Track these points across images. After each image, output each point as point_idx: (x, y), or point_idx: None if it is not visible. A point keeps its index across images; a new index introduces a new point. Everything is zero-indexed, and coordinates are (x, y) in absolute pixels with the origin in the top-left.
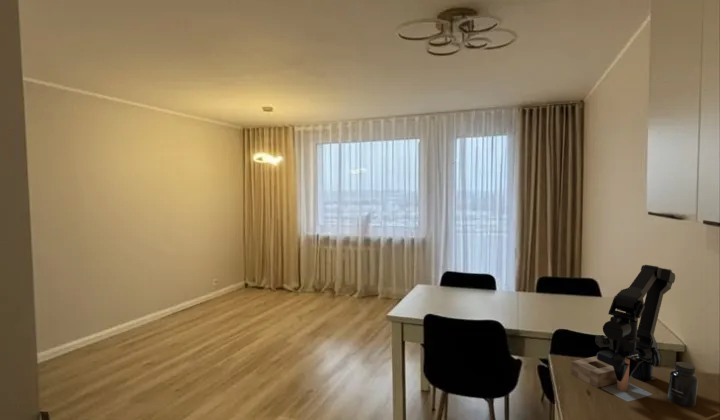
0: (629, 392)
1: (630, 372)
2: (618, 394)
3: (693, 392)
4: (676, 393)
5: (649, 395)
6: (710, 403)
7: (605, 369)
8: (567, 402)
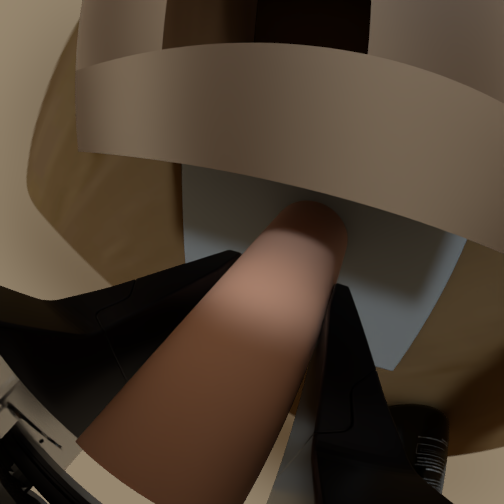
0: None
1: (303, 392)
2: (208, 248)
3: None
4: None
5: None
6: (457, 453)
7: (215, 105)
8: (35, 156)
